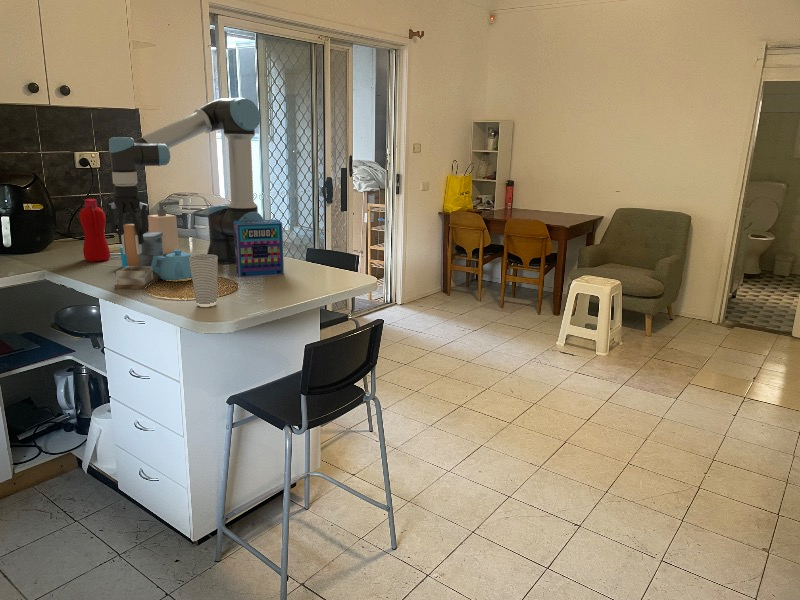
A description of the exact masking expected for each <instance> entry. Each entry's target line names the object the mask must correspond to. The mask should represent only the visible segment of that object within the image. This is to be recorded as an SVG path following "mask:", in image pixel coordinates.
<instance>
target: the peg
mask: <svg viewBox="0 0 800 600" xmlns="http://www.w3.org/2000/svg"><path fill="white" fill-rule="evenodd" d="M123 227H124V237H125V246H126V255H127V265H128V266H138V265H140V259H139V254H137V251H136V241H135V235H136V234H137V232H136V229H135V225H134V223H125V225H123Z"/></svg>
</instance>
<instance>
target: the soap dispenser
mask: <svg viewBox="0 0 800 600" xmlns="http://www.w3.org/2000/svg"><path fill="white" fill-rule="evenodd" d="M174 205H175V206H176V205H177V206H178V205H180V201H179V200H169V201H159V202H158V207H159V209H157V211H156V212H157V214H150V215H148V232H156V233H163V236H162V246H163V255H167V254H170V253H174V250H180V246H179V235H178V234H179V233H178V222H177V221H178V220H177V215H174V214H169V213H167V210H166V209H164V207H165V206H166V207H167V206H174Z"/></svg>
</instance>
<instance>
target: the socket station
mask: <svg viewBox="0 0 800 600" xmlns="http://www.w3.org/2000/svg"><path fill="white" fill-rule="evenodd" d="M162 236H163V233H156V232H149V231H148V232H147V233H144V234H143V241H144V243H143V244H141V247H142V253H141V254H139V259H140V265H138V266H126V267H124V268H120V269H118V270H116V271H115V277H116V278H115V279H116V284H115V285H114V289H117V290H118V289H119V290H127V289H128V290H145V289H146V288H145V287H146V286H148V285H149V284H151V283H153V282H154V283H156V282H157V281H159V280H161V279H162V278H161V277H160V276H159V275H158V274H157V273H156V272H154V271H153V268H152V266H151V264H152V260H153V256H154V255H155V256H162V257H164V254H163V246H162ZM161 263H162V261H161V260H157V263H156V266H157V267H159V268H160V265H161ZM158 279H159V280H158ZM155 281H156V282H155ZM154 283H153V284H154ZM151 285H152V284H151ZM148 287H149V286H148ZM144 288H145V289H144Z"/></svg>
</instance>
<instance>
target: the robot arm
mask: <svg viewBox="0 0 800 600" xmlns="http://www.w3.org/2000/svg"><path fill="white" fill-rule="evenodd" d="M260 122H261V113H260V110H259V107H258V106H257V105H256V104H255V102H254V101H252V100H251V99H249V98H245V97H231V98H230V97H228V98H218V99H215V100H213V101H211V102H208V103H207V104H204V105H203V106H201V107H198V108H197V109H196V108H195V110H194V112H193V113H192V114H189V115H187V116H185V117H183V118H181V119H179V120H176V121H174V122H172V123H170V124H167V125H165V126H163V127H161V128H159V129H156V130H154V131H152V132H150V133H148V134H147V133H146V134H145V135H142V136H141V137H139V138H136V139H134V138H133V137H125V136H124V137H123V136H118V137H117V136H116V137H115V136H111V138H109V140H108V148H109V149H108V150H109V151H108V152H109V157H110V164H111V174H112V175H111V176H112V184H113V185H114V186H113V195H114V201H113V202H111V203H107V204H106V207H107V210H108V213H109V219H110V226H111V231H112V233H113V234H116V235H118V243H119V244H120V245H121V246H122V248H123V254H126V246H125V237H124V227H123V225H125V224H126V219H127V218H126V217H127V214H128V213H129V214H130V217H131V218H132V219H131V220H132V222H133V224H134V225H135V229H136V232H137V234H136V235H135V241H136V251H137V254H141V253H142V247H141V244H143V243H144V241H143V234H144V233H147V232H149V223H148V216H149V215H148V210H149V207H150V205H149V204H148V203H143V202H141V200H140V193H139V186H138V185H137V184H138V175H137V173H138V172H137V167H160V166H167V165H168V164H169V163H170V161H171V152H170V149H171V148H173V147H175V146H177V145H179V144H182V143H184V142H186V141H188V140H191V139H192V138H195V137H197V136H199V135H201V134H203V133H205V134H209V133H212V132H215V131H218V130H219V131H222V130H223V135H224V137H226V138H227V141H228V143H227V145H228V162H229V164H228V165H229V166H228V167H229V181H230V183H229V184H230V186H229V187H230V203H228V204H222V205H212V206H209V207H208V209H207V219H208V220H207V221H208V235H209V244H208V248H207V252H206V254H212V255H216V256H218V264H234V263H236V257H235V239H234V221H249V220H264V217H263V216H262V215H261V214H260V213H259V211H258V210H259V209H258V205H257V203H256V202H255V201H254V183H253V181H254V179H253V158H252V157H253V155H252V139H253V138H254V137H255V136H256V132H255V131H256V129H257V128H258V126H259V125H260ZM116 208H117V209H118V210H119V211H118V216H119V218H118V217H117V210H116ZM138 208H140V210H141V211H140V217H141V218H140V217H139V211H138ZM140 219H141V220H140Z"/></svg>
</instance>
